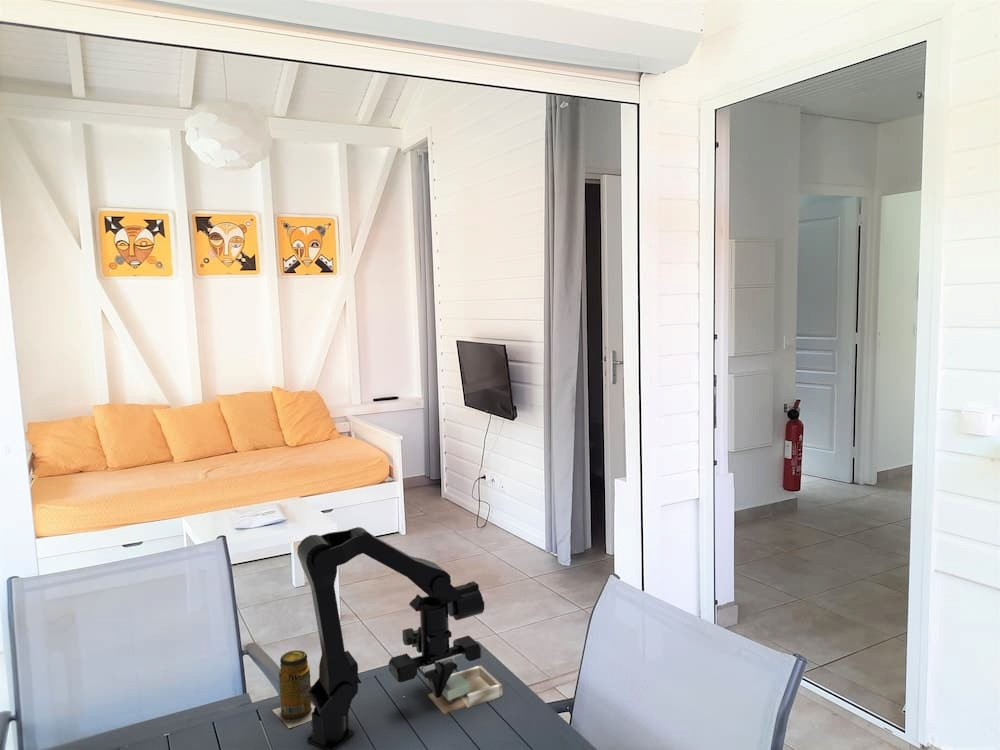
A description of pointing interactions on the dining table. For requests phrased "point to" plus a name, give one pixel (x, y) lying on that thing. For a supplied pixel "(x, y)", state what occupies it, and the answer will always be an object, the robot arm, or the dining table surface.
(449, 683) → the pale green pegged cube
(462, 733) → the dining table surface
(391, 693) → the dining table surface
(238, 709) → the dining table surface
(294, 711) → the condiment
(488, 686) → the dock
